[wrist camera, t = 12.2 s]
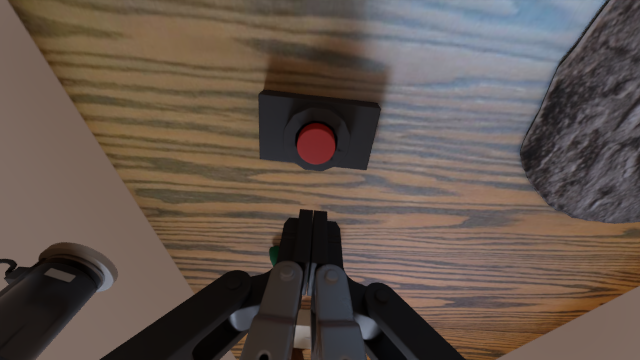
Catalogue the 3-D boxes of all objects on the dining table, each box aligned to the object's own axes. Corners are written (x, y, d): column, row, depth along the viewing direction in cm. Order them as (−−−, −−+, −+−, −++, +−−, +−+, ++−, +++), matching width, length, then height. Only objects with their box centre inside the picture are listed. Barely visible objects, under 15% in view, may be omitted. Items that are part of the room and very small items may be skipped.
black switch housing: (263, 151, 29) (255, 166, 25) (263, 89, 25) (253, 98, 22) (363, 161, 29) (369, 178, 26) (377, 102, 26) (385, 113, 22)
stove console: (295, 331, 49) (293, 349, 46) (297, 308, 45) (296, 326, 42) (353, 335, 50) (355, 353, 47) (361, 313, 46) (363, 330, 43)
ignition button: (297, 154, 25) (295, 162, 23) (299, 120, 23) (298, 126, 21) (332, 158, 25) (332, 166, 23) (337, 124, 23) (338, 130, 22)
